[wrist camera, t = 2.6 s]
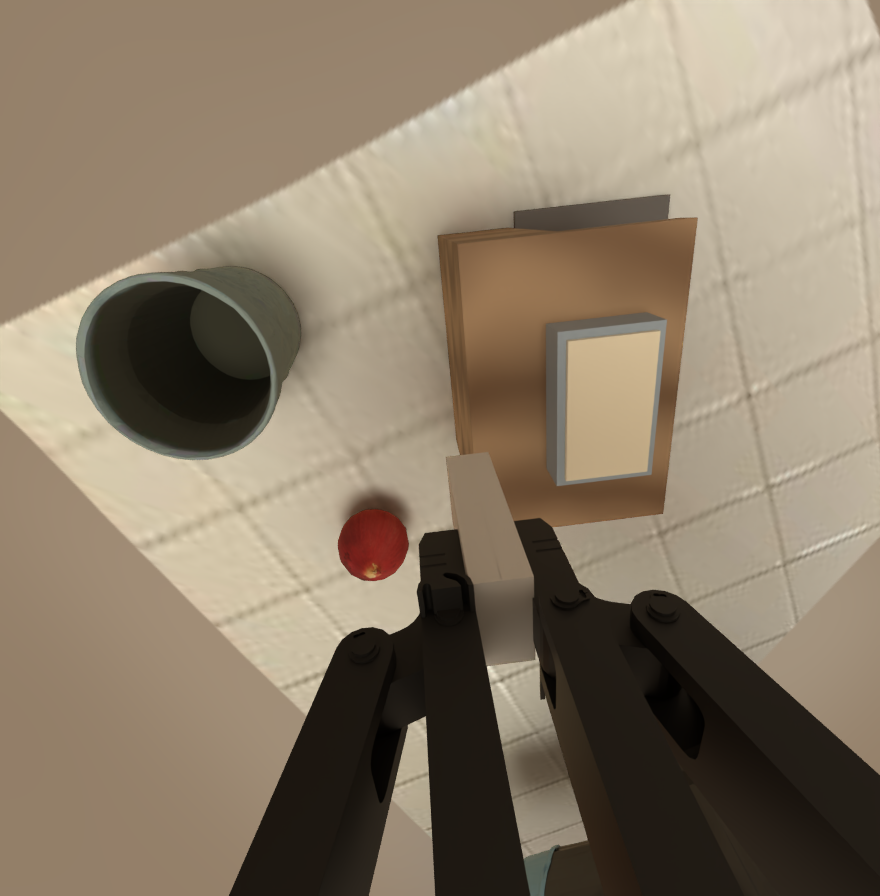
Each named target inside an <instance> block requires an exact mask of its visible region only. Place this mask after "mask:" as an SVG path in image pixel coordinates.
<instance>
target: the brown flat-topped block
mask: <svg viewBox="0 0 880 896" xmlns="http://www.w3.org/2000/svg"><path fill="white" fill-rule="evenodd" d="M697 219H698V218H674V219H665V220H656V221H647V222H638V223H629V224H620V225H611V226H602V227H593V228H584V229H575V230H565V231H545V230H531V229H516V228H502V229H493V230H484V231H475V232H466V233H456V234H447V235H438V246H439V257H440V268H441V278H442V289H443V300H444V311H445V322H446V333H447V343H448V354H449V365H450V376H451V387H452V398H453V408H454V419H455V430H456V440H457V444H458V448H459V452H460V455H467V454H475V453H483V452H488V453H489V455H490V458H491V461H492V464H493V466H494V469H495V472H496V475H497V477H498V480H499V483H500V486H501V488H502V491H503V494H504V496H505V499H506V502H507V505H508V507H509V510H510V513H511V516H512V518H513V521H518V520H526V519H535V518H541V519H542V520H544V521H545V522H546V523H548V524H549V525H550V526H551V527H558V526H567V525H575V524H583V523H591V522H599V521H607V520H615V519H624V518H632V517H640V516H648V515H656V514H663V510H664V501H665V493H666V484H667V476H668V467H669V459H670V450H671V441H672V433H673V424H674V416H675V407H676V399H677V390H678V382H679V373H680V364H681V356H682V347H683V339H684V330H685V322H686V313H687V305H688V296H689V287H690V279H691V270H692V262H693V253H694V245H695V236H696V228H697ZM644 312H648V313H650V314H653V315H656V316H658V317H661V318H664V319H667V325H666V335H665V345H664V355H663V365H662V375H661V385H660V395H659V405H658V415H657V424H656V434H655V444H654V454H653V464H652V474H651V475H645V476H637V477H629V478H620V479H612V480H604V481H596V482H587V483H579V484H571V485H562V486H556V484H555V482H554V480H553V479H552V477H551V475H550V474H549V472H548V470H547V458H546V324H548V323H557V322H565V321H574V320H583V319H592V318H600V317H609V316H618V315H627V314H635V313H644Z"/></svg>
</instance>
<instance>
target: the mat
mask: <svg viewBox="0 0 880 896" xmlns="http://www.w3.org/2000/svg"><path fill="white" fill-rule="evenodd" d="M669 202H670V195H661V196H652V197H643V198H634V199H625V200H615V201H606V202H597V203H588V204H579V205H570V206H560V207H551V208H542V209H533V210H524V211H515V212H514V228H516V229H531V230H545V231H565V230H575V229H584V228H593V227H602V226H611V225H620V224H629V223H638V222H647V221H656V220H665V219H668V213H669Z"/></svg>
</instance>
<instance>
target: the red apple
mask: <svg viewBox="0 0 880 896" xmlns="http://www.w3.org/2000/svg"><path fill="white" fill-rule="evenodd" d="M408 546H409V542H408V537H407V532H406V528H405V527H404V525H403V524H402V523H401V521H400V520H399V519H398V518H397V517H396V516H394V515H392V514H391V513H389V512H387V511H383V510H379V509H370V510H363V511H361V512H359V513H357V514H355V515H353V516H351V518H350V519H349V520H348V521H347V522H346V523H345V524H344V526H343V528H342V530H341V533H340V536H339V539H338V550H339V556H340V560H341V562H342V564H343V565H344V566H345V567H346V569H347V570H348V571H349V572H350V574H351V575H353V576H355V577H357V578H359V579H361V580H364V581H377V580H382V579H385V578H387V577H389V576H390V575H392V574H394V573H395V572H396V571H397V570H398V568H399V567H400V566H401V565H402V563H403V561H404V559H405V557H406V554H407V551H408Z"/></svg>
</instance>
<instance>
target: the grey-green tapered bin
mask: <svg viewBox="0 0 880 896" xmlns="http://www.w3.org/2000/svg"><path fill="white" fill-rule="evenodd" d="M300 337H301V326H300V322H299V318H298V315H297V312H296V310H295V308H294V304H293V303H292V301H291V300H290V299H289V297H288V296H287V294H286V293H285V292H284V291H283V290H282V289H281V288H280V287H279V286H278V285H277V284H276V283H275V282H273V281H272V280H271V279H269V278H268V277H266V276H265V275H263V274H260V273H258V272H256V271H254V270H251V269H247V268H242V267H218V268H213V269H198V270H195V271H194V272H187V271H177V272H158V273H146V274H138V275H134V276H130V277H127V278H125V279H122V280H119V281H117V282H116V283H114V284H112V285H111V286H109V287H107V288H106V289H104V290H103V291H102V292H101V293H100V294H99V295H98V296H97V297H96V298H95V299H94V300H93V301H92V302H91V304H90V305H89V306H88V308H87V310H86V311H85V313H84V315H83V317H82V319H81V322H80V326H79V330H78V334H77V338H76V355H77V361H78V368H79V372H80V376H81V380H82V383H83V385H84V388H85V390H86V392H87V394H88V396H89V398H90V399H91V401H92V402H93V404H94V405H95V407H96V409H97V410H98V411H99V412H100V413H101V414H102V416H103V417H104V418H105V419H106V420H107V421H108V423H109V424H110V425H112V426H113V427H114V428H115V429H116V430H117V431H119V432H120V433H121V434H122V435H124V436H125V437H126V438H128V439H129V440H131V441H132V442H134V443H136V444H138V445H140V446H142V447H144V448H146V449H148V450H150V451H153V452H156V453H158V454H161V455H164V456H169V457H173V458H177V459H186V460H208V459H213V458H218V457H223V456H226V455H229V454H231V453H234V452H236V451H238V450H240V449H242V448H244V447H245V446H247V445H248V444H249V443H251V442H252V441H253V440H254V439H255V438H256V437H257V436H258V435H259V434H260V433H261V432H262V431H263V430H264V428H265V427H266V425H267V424H268V422H269V421H270V419H271V417H272V414H273V412H274V410H275V406H276V404H277V401H278V399H279V396H280V393H281V387H282V382H283V381H284V380H285V379H286V378H287V376H288V373H289V370H290V368H291V366H292V364H293V362H294V360H295V357H296V354H297V352H298V349H299V343H300Z"/></svg>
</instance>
